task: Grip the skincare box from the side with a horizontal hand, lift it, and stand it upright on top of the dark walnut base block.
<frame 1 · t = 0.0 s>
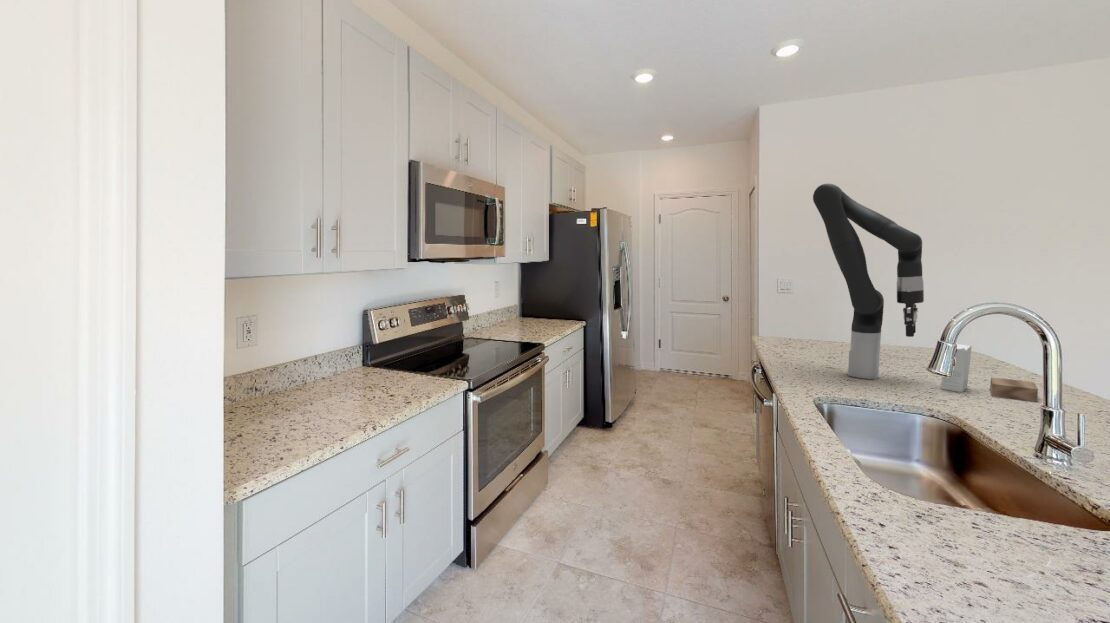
hand: (910, 334, 162), 17 cm above the counter, tool pointing down, fingers open, 8 cm apart
skincare box: (954, 389, 155), on the counter
walnut base: (1012, 395, 146), on the counter
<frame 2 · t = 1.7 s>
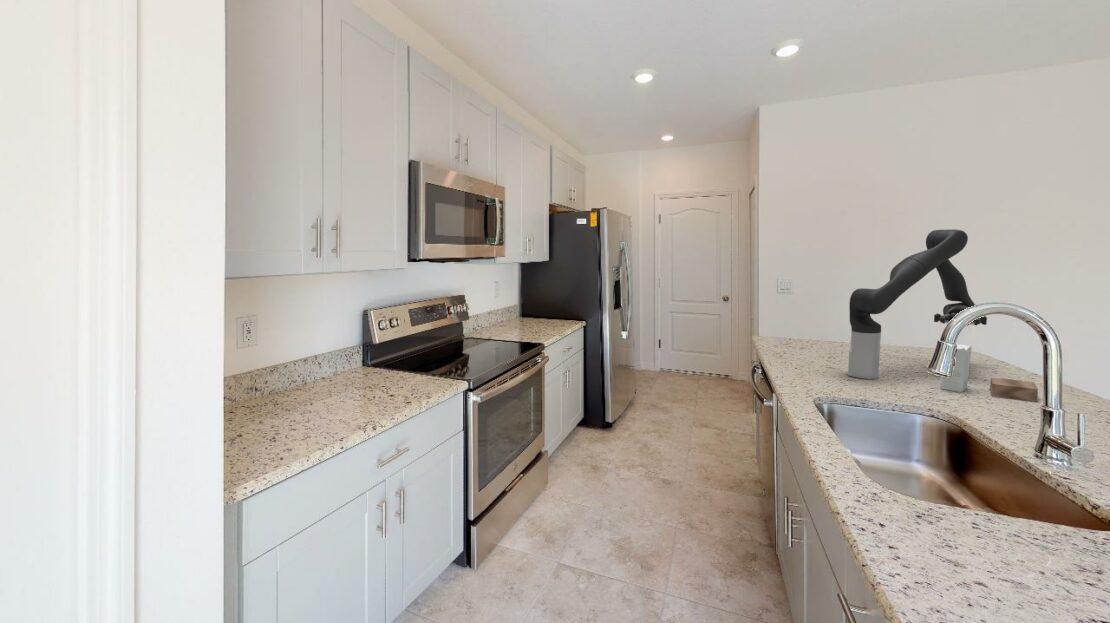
hand: (959, 321, 160), 22 cm above the counter, tool horizontal, fingers open, 8 cm apart
nothing on the counter moved.
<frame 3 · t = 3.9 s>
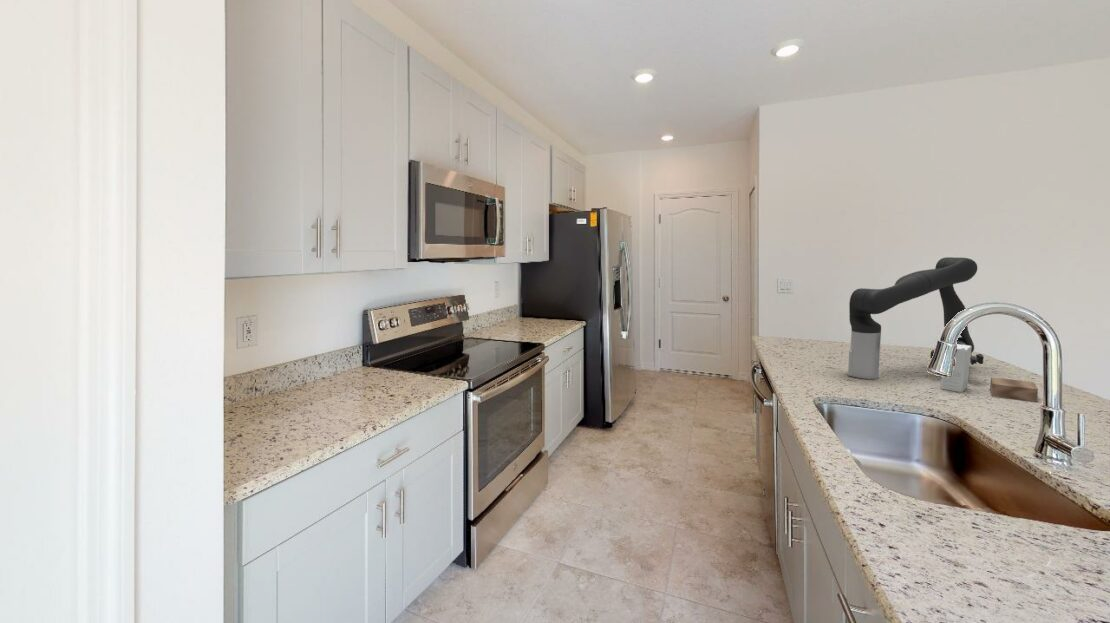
hand: (956, 360, 159), 9 cm above the counter, tool horizontal, fingers open, 8 cm apart
nothing on the counter moved.
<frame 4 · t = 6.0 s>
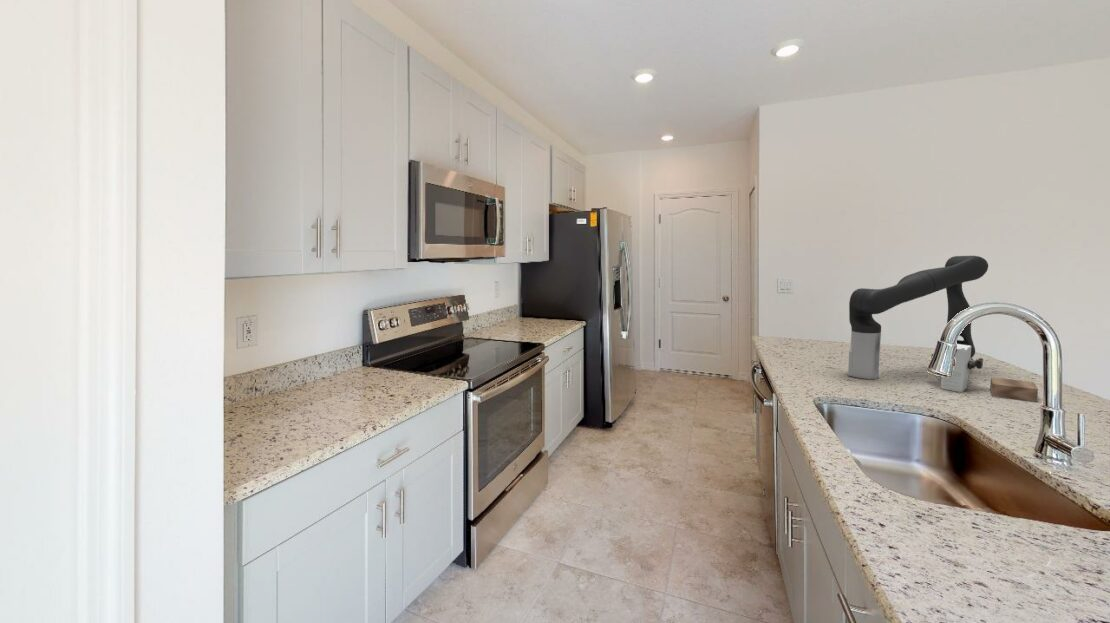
hand: (956, 365, 152), 9 cm above the counter, tool horizontal, fingers closed on skincare box, 6 cm apart
skincare box: (954, 389, 155), on the counter, touching gripper
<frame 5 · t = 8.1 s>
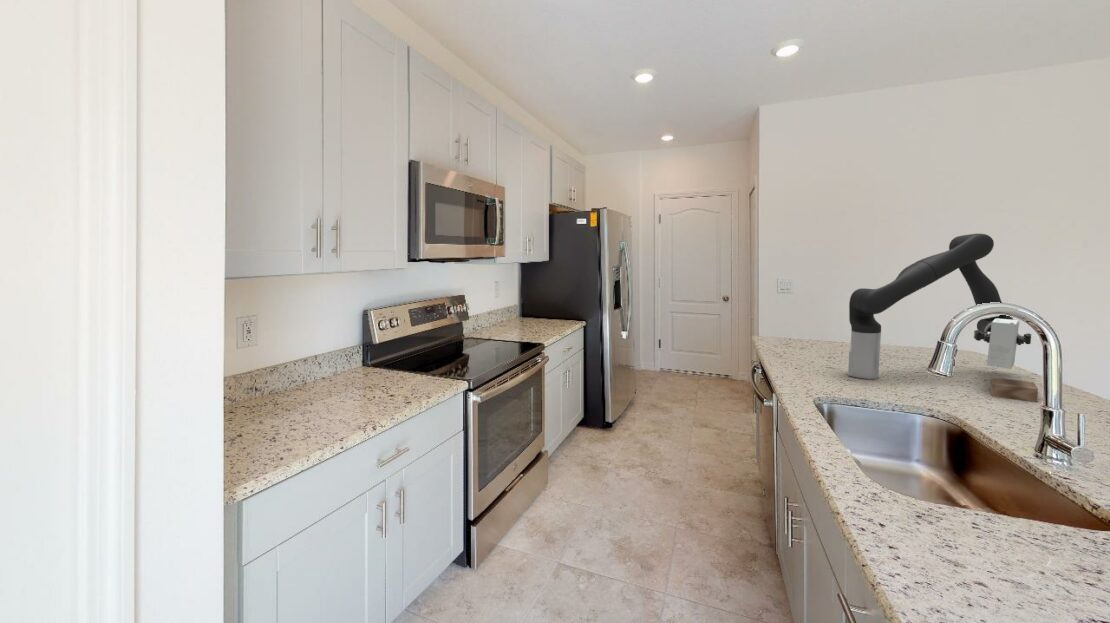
hand: (1004, 340, 145), 18 cm above the counter, tool horizontal, fingers closed on skincare box, 6 cm apart
skincare box: (1001, 366, 147), point 9 cm above the counter, touching gripper
when the fingers open (14 cm above the counter, at t = 10.2 s): skincare box stays where it is, resting on walnut base.
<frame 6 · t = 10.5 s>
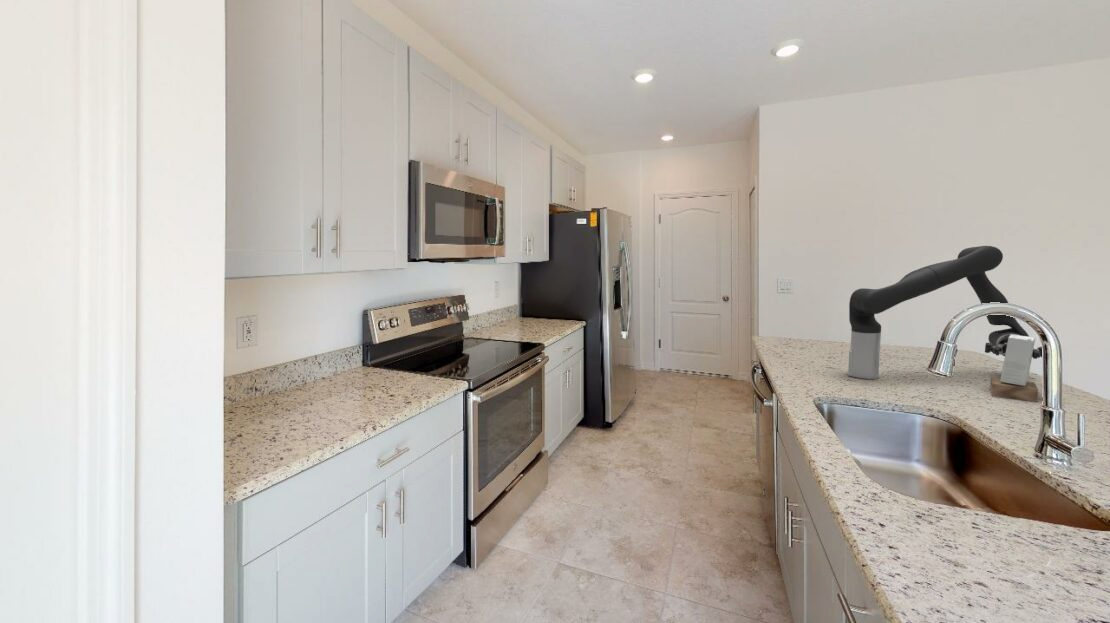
hand: (1016, 353, 143), 14 cm above the counter, tool horizontal, fingers open, 8 cm apart
skincare box: (1014, 382, 146), point 4 cm above the counter, touching gripper, walnut base
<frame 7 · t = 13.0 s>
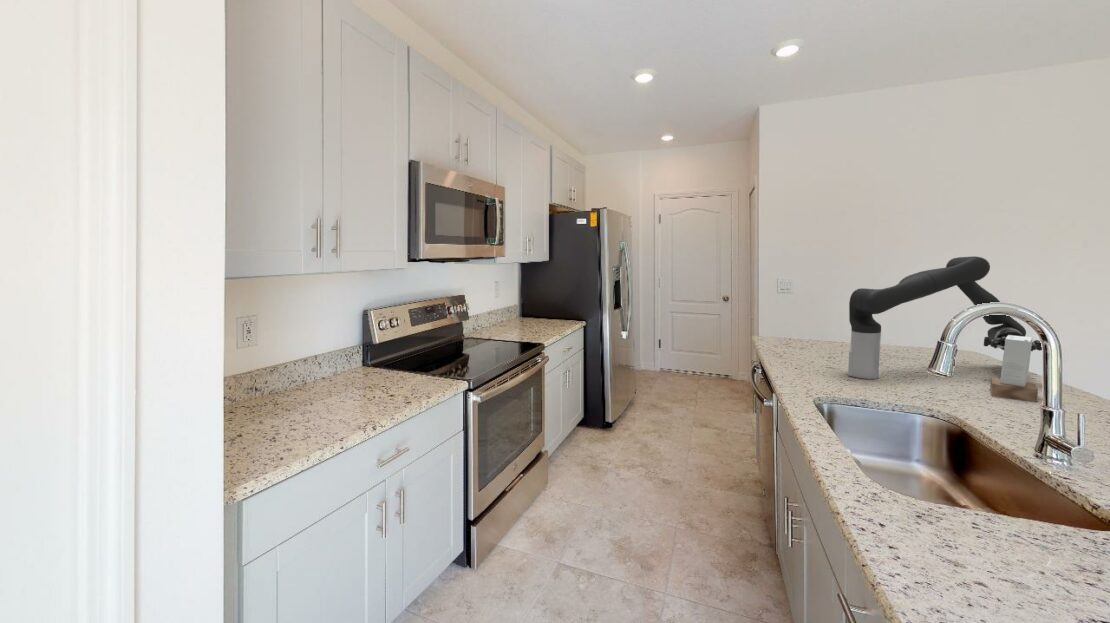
hand: (1013, 346, 153), 14 cm above the counter, tool horizontal, fingers open, 8 cm apart
skincare box: (1013, 383, 146), point 4 cm above the counter, touching walnut base
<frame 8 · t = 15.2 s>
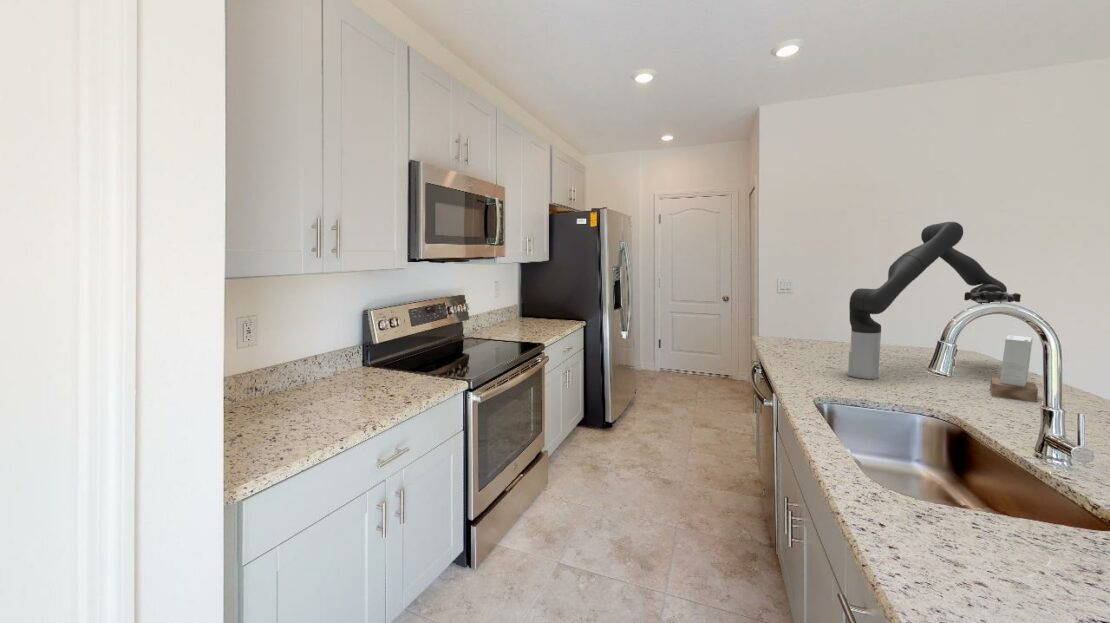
hand: (992, 298, 156), 30 cm above the counter, tool horizontal, fingers open, 8 cm apart
nothing on the counter moved.
at the end: skincare box inside the target area on the walnut base (0.3 cm from its centre), point 3.8 cm above the walnut base's base; skincare box tilted 0°; the gripper is holding nothing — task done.
